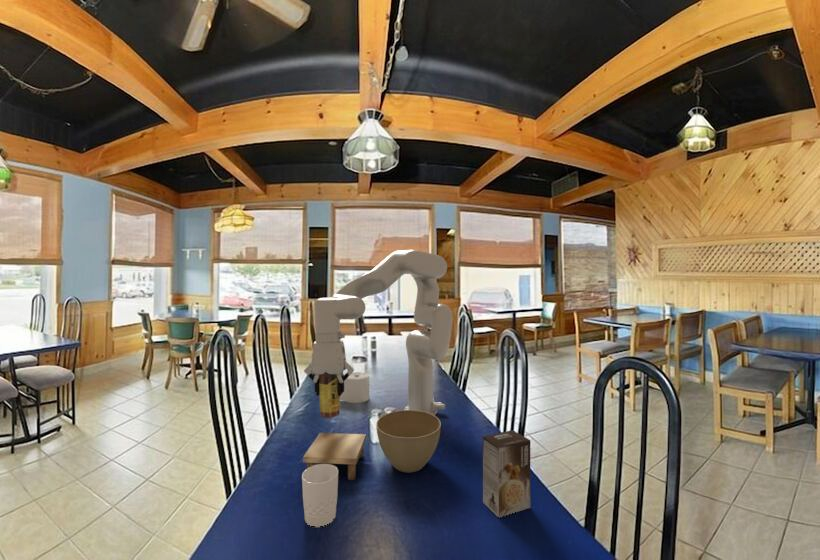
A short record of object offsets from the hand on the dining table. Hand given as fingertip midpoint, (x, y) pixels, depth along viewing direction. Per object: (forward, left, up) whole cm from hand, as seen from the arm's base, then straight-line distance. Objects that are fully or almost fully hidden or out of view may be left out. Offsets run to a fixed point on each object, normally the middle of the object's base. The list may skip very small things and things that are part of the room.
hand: (329, 393), depth 115 cm
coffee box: (-50, +26, -16) cm, 58 cm away
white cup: (-8, +33, -16) cm, 38 cm away
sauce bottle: (0, 0, -7) cm, 7 cm away
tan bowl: (-26, +10, -16) cm, 32 cm away
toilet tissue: (0, -40, -16) cm, 43 cm away
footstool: (-6, +12, -16) cm, 21 cm away
